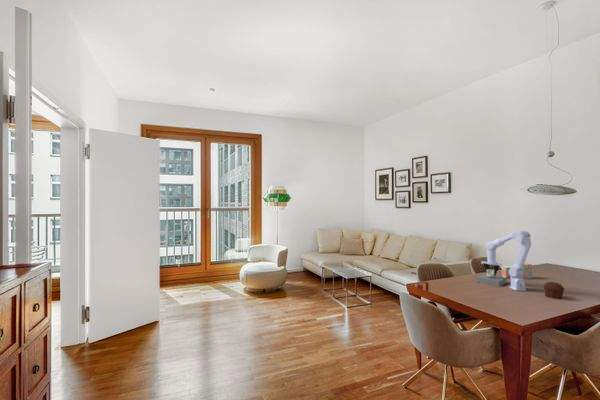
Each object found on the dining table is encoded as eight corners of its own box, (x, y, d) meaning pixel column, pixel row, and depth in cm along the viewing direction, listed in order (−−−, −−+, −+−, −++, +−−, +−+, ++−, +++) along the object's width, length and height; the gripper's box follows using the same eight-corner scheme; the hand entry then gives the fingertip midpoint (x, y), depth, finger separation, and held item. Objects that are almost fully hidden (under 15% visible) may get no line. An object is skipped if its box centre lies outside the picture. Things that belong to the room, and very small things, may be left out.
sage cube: (496, 276, 245) (496, 269, 245) (493, 277, 242) (493, 270, 242) (489, 274, 249) (489, 268, 249) (486, 275, 246) (486, 269, 246)
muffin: (566, 300, 201) (566, 285, 201) (545, 298, 207) (545, 283, 206) (561, 295, 211) (561, 281, 211) (541, 293, 217) (541, 279, 217)
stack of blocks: (506, 278, 258) (505, 264, 258) (501, 276, 265) (501, 262, 265) (532, 278, 257) (532, 264, 257) (527, 276, 263) (527, 262, 263)
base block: (506, 282, 244) (506, 277, 244) (499, 286, 234) (498, 281, 234) (484, 278, 257) (484, 274, 257) (476, 282, 247) (476, 277, 247)
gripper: (503, 257, 242) (503, 274, 242) (483, 255, 254) (483, 271, 254) (500, 259, 238) (500, 276, 238) (480, 256, 249) (480, 272, 249)
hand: (491, 273), depth 246 cm, fingers closed on sage cube, 5 cm apart
